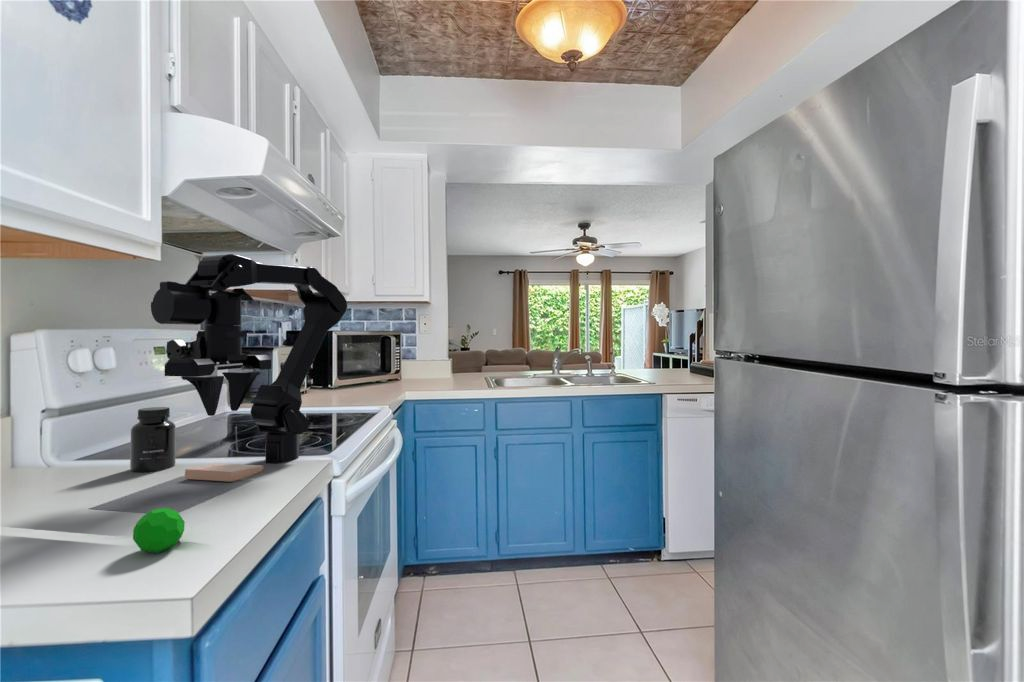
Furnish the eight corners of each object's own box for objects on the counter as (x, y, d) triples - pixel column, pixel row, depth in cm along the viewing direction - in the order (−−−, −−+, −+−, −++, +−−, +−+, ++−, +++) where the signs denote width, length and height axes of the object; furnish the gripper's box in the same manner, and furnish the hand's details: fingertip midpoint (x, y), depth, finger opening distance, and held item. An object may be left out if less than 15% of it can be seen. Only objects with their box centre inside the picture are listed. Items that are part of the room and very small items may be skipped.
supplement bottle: (147, 478, 85) (146, 412, 85) (121, 475, 87) (120, 410, 87) (184, 468, 92) (184, 406, 92) (159, 465, 94) (158, 405, 94)
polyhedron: (146, 542, 59) (146, 504, 59) (191, 539, 60) (191, 501, 60) (124, 561, 54) (123, 520, 54) (172, 557, 55) (172, 516, 55)
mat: (182, 480, 84) (182, 476, 84) (253, 484, 82) (253, 480, 82) (88, 514, 68) (88, 508, 68) (173, 520, 66) (173, 514, 66)
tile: (184, 478, 82) (219, 471, 90) (230, 481, 80) (262, 474, 88) (185, 469, 82) (220, 463, 90) (231, 471, 80) (263, 465, 88)
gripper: (222, 326, 95) (222, 404, 95) (134, 324, 76) (134, 420, 76) (273, 326, 93) (273, 406, 93) (195, 324, 74) (195, 423, 75)
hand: (223, 413), depth 84 cm, fingers open, 5 cm apart
